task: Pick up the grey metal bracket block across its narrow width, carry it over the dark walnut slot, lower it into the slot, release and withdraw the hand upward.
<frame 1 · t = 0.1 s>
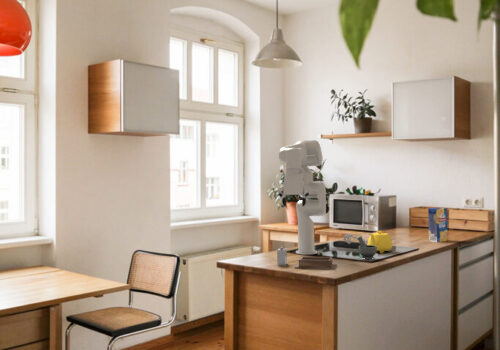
hand: (294, 206, 263), 31 cm above the table, fingers open, 9 cm apart
well: (315, 266, 263), on the table
mortar and pestle: (366, 259, 284), on the table
teapot: (379, 252, 307), on the table
blue food box: (438, 241, 348), on the table
bracket block: (282, 264, 271), on the table
bracket: (359, 245, 338), on the table
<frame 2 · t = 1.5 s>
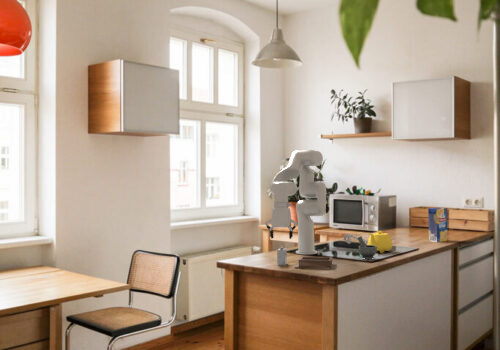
hand: (281, 238, 271), 14 cm above the table, fingers open, 9 cm apart
nothing on the table moved.
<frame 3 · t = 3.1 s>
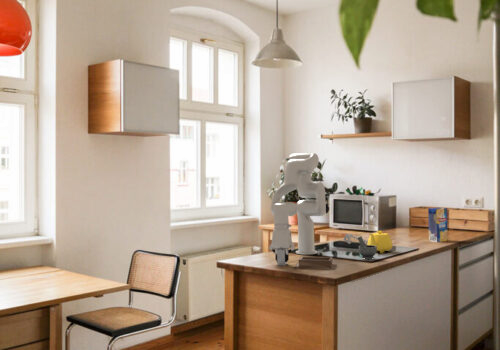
hand: (282, 261, 271), 2 cm above the table, fingers closed on bracket block, 4 cm apart
bracket block: (282, 264, 271), on the table, touching gripper
everything else where it was.
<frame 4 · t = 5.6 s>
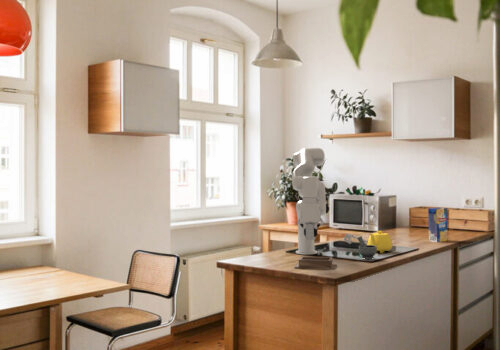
hand: (310, 236, 264), 15 cm above the table, fingers closed on bracket block, 4 cm apart
bracket block: (310, 239, 264), point 14 cm above the table, touching gripper
everything else where it was.
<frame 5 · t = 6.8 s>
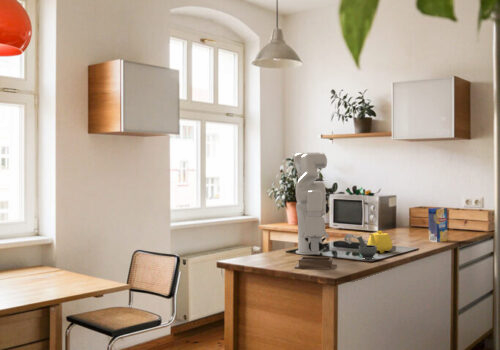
hand: (315, 250, 263), 8 cm above the table, fingers closed on bracket block, 4 cm apart
bracket block: (315, 253, 263), point 7 cm above the table, touching gripper
everything else where it was.
when the fingers open (3 cm above the table, at t = 8.0 s): bracket block stays where it is, resting on well.
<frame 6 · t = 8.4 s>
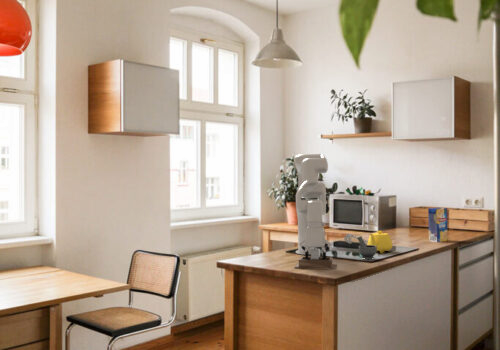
hand: (315, 259, 263), 4 cm above the table, fingers open, 7 cm apart
bracket block: (315, 265, 263), point 1 cm above the table, touching well
everything else where it was.
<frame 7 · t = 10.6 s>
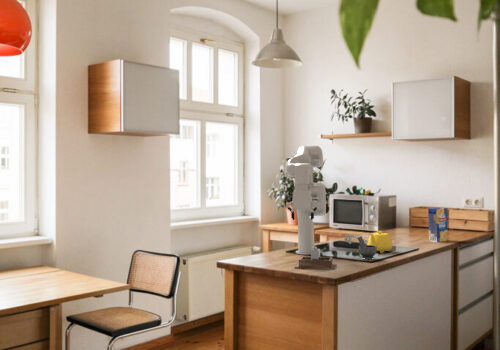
hand: (302, 219, 273), 23 cm above the table, fingers open, 9 cm apart
nothing on the table moved.
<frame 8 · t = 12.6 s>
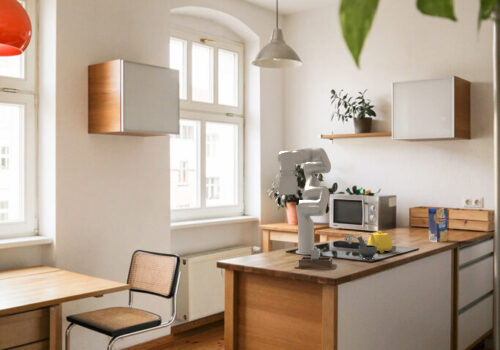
hand: (288, 205, 282), 30 cm above the table, fingers open, 9 cm apart
nothing on the table moved.
at the end: bracket block inside the target area on the well (0.1 cm from its centre), point 0.7 cm above the well's base; bracket block tilted 0°; the gripper is holding nothing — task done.
